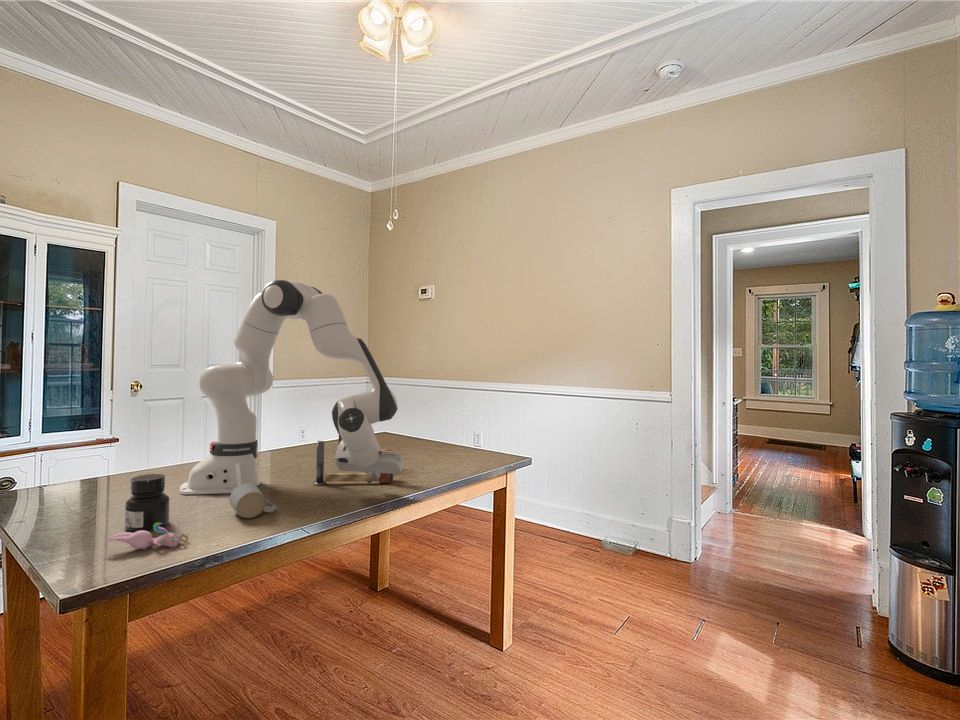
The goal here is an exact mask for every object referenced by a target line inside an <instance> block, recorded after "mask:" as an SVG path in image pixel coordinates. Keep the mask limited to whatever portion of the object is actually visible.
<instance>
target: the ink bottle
mask: <svg viewBox="0 0 960 720" xmlns="http://www.w3.org/2000/svg"><path fill="white" fill-rule="evenodd" d="M165 488H166V475H165V474H162V473H150V474H149V473H147V474H141V475H137V476H134V477H132V478H131V479H130V494H131V496H130V498H128V499H127V500H126V502H125V505H124V506H125V509H124V512H125V513H124V516H125V517H124V519H125V520H124V527H125V530H126V531H127V532H131V533H135V532H137V531H141V530H144V531H148V532H150V531H154V530H153V526H154V524H155V523H163V524H161V525H159V526H160V527H162V528H164V527H165V526H166V525H169V522H170V496H169V495H168V494H166V493H165Z"/></svg>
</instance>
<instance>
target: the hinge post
mask: <svg viewBox="0 0 960 720" xmlns="http://www.w3.org/2000/svg"><path fill="white" fill-rule="evenodd" d="M315 457H316V458H315V460H316V465H315V471H316V472H315V481H313V482H312V483H313V486H316V485H321V486H325V485H326V484H327V482H324V481H325V440H318V441H317V440H316V456H315Z"/></svg>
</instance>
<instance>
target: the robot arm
mask: <svg viewBox="0 0 960 720" xmlns="http://www.w3.org/2000/svg"><path fill="white" fill-rule="evenodd" d="M288 318H289V319H292V320H293V319H294V320H297V319H298V320H299V319H301V320H304V321H306V324H307V328H308V331H309V334H310V337H311V341H312V343H313V345H314V347H315V348H314V349H316V351H317V352H318V353H319V354H320V355H322V356H324V357H326V358H329V359H333V360H334V359H335V360H346V361H347V360H349V361H354V362H357V363H359V364H360V365H361V366H362V367H363V369H364V371H365V373H366V375H367V377H368V380H369V382H370V383H371V385H372V389H370V390H367V391H364V392H361V393H358V394H354V395H353V394H352V395H350V396H347V397H343V398H341V399H338V400H337V401H336V403H334V406H333V407H332V411H331V417H332V423H333V425H334V427H335V430H336V432H337V434H338V435H339V434H340V435H341V438H342V440H343V441H341V442H340V444H339V443H338V446H337V449H336V452H335V455H334V460H335V465H336V467H337V469H338V470H340V471H343V472H357V473H366V474H368V475H369V476H370V477H372V478H379V477H380V473H391V474H393V475H394V474H395V475H400V474H401V473H403V471H404V467H405V466H404V465H405V462H404V460H403V459H402V456H401V454H400V453H399V452H396V451H392V450H391V451H381V450H382V449H381V446H380V443H379V441H378V439H377V436H376V435H375V431H374V428H373V426H372V425H373V424H376V423H379V422H384V421H390V420H392V419H393V418H394V416H395V415H396V414H397V411H398V401H397V398H396V396H395V394H394V392H392V390H391V389H390V387H389V385H388V384H387V382H386V381H385V378H384V377H383V374H382V373H381V370H380V368H379V367H378V365H377V362H376V361H375V359H374V356H373V355H372V353H371V351H370V350H369V348H368V345H367V344H366V343H365V342H364V340H362V338H360V337H359V338H358V337H356V336H354V334H352V332H351V330H350V328H349V326H348V323H347V320H346V317H345V315H344V312H343V310H342V307H341V306H340V304H339V301H338V300H337V299H336V297H335V296H333V295H332V294H329V293H323V292H322V291H321V290H320V289H318V288H316V287H314V286H309V285H307V284H304V283H301V282H295V281H294V282H293V281H288V280H286V279H278V280H277V279H276V280H271V281H270V282H267V284H266V285H265V286H264V287H263V289H262V291H261V292H259V293H257V294H256V295H255V296H254V298H253V299H252V301H251V302H250V304H249V306H248V307H247V309H246V311H245V313H244V316H243V317H242V320H241V322H240V325H239V326H238V327H239V328H238V329H237V332H236V335H235V337H234V340H233V344H234V347H235V348H236V349H237V351H238V356H237V357H238V358H237V361H236V362H235V363H220V364H216V365H214V366H210V367H208V368H206V369H204V370H203V371H202V372H201V375H200V376H199V382H198V386H199V389H200V391H201V393H202V394H203V395H204V396H205V397H206V398H207V399H208V400H210V402H211V404H212V406H213V408H214V410H215V414H216V419H217V420H216V421H217V441H215V440H213V441H212V442H210V444H209V453H210V454H209V455H207V456H206V457H205V458H204V459H202V460H201V461H198V463H196V464H195V465H194V466H193V467H192V469H191V470H190V472H189V474H188V480H187V481H185V482H183V483H182V484H181V485H180V487H179V493H180V494H181V495H208V494H209V495H210V494H211V495H212V494H213V495H214V494H231V493H232V491H233V490H234V489H235V488H236V487H237V486H239V485H241V484H245V483H250V484H253V485H255V486H256V487H258V486H259V485H261V484H262V482H261V478H260V475H259V471H258V461H257V458H258V455H259V453H258V452H259V443H258V439H257V422H258V421H257V420H258V419H257V416H256V414H255V413H254V412H253V411H251V410H250V408H249V406H248V403H247V398H250V397H257V396H259V395H261V394H264V393H266V392H268V391H269V390H270V389H271V388H272V386H273V383H274V376H273V373H272V371H271V370H270V359H271V358H270V357H271V353H272V350H273V347H274V345H275V343H276V340H277V338H278V336H279V333H280V330H281V327H282V325H283V324H284V321H285V320H286V319H288Z"/></svg>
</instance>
